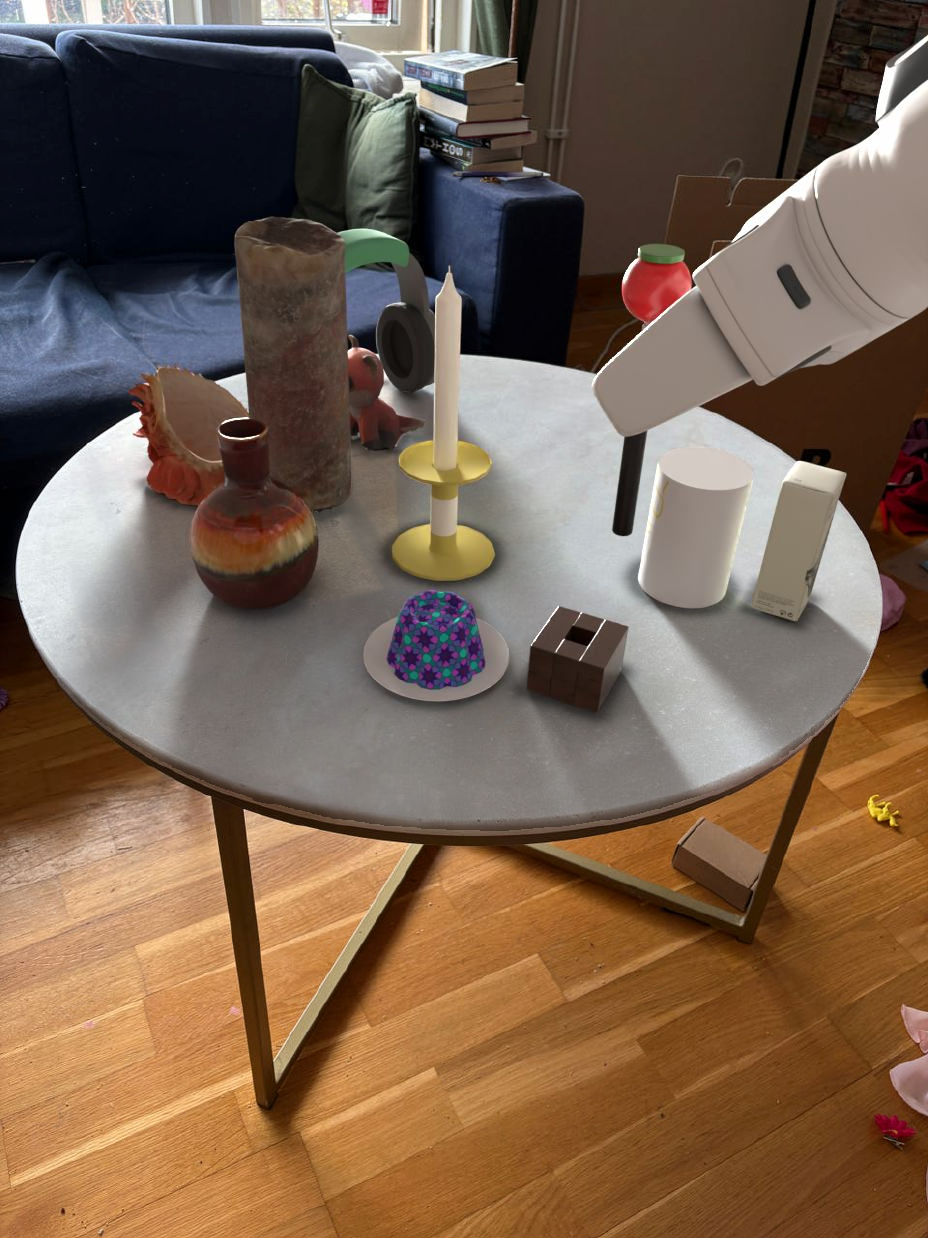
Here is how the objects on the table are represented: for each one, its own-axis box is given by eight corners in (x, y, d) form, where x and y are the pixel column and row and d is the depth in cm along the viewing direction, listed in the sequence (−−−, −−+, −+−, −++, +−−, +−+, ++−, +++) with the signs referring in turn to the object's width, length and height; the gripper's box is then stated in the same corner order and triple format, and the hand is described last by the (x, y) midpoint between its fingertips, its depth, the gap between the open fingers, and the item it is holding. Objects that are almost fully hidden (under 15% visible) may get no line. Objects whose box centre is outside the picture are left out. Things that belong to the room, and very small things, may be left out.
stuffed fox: (440, 443, 110) (442, 343, 103) (355, 466, 104) (351, 361, 97) (407, 419, 115) (406, 322, 108) (324, 440, 109) (318, 339, 102)
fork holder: (621, 670, 77) (629, 626, 74) (597, 713, 73) (604, 668, 70) (553, 648, 79) (558, 605, 76) (526, 689, 75) (530, 645, 72)
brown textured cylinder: (339, 472, 103) (326, 212, 87) (368, 515, 96) (359, 239, 80) (246, 487, 100) (214, 219, 84) (269, 533, 93) (239, 249, 77)
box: (796, 624, 83) (835, 496, 75) (747, 608, 85) (780, 481, 77) (811, 596, 87) (849, 470, 79) (764, 581, 88) (797, 457, 81)
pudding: (488, 722, 72) (491, 669, 68) (341, 690, 74) (338, 637, 71) (523, 631, 81) (527, 581, 78) (391, 606, 83) (390, 556, 80)
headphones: (405, 369, 128) (405, 213, 116) (452, 397, 121) (456, 234, 109) (279, 399, 118) (264, 232, 106) (322, 431, 111) (311, 257, 99)
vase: (289, 632, 80) (273, 469, 71) (173, 607, 82) (143, 445, 73) (341, 565, 88) (332, 411, 79) (234, 544, 91) (214, 392, 82)
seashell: (140, 525, 96) (287, 508, 98) (114, 431, 89) (274, 416, 91) (147, 440, 109) (277, 427, 111) (125, 352, 102) (265, 340, 104)
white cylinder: (661, 550, 92) (682, 437, 85) (739, 578, 89) (768, 464, 81) (622, 586, 87) (641, 470, 80) (704, 619, 83) (731, 500, 76)
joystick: (658, 524, 65) (704, 246, 54) (642, 552, 63) (687, 263, 51) (603, 511, 67) (637, 236, 56) (585, 538, 64) (617, 253, 53)
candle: (475, 520, 96) (488, 245, 80) (509, 572, 88) (530, 280, 72) (380, 533, 93) (373, 251, 77) (406, 588, 86) (404, 288, 70)
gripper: (860, 186, 55) (684, 315, 66) (698, 261, 42) (511, 407, 53) (914, 279, 55) (730, 392, 66) (771, 382, 42) (571, 502, 53)
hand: (632, 400), depth 59 cm, fingers closed on joystick
